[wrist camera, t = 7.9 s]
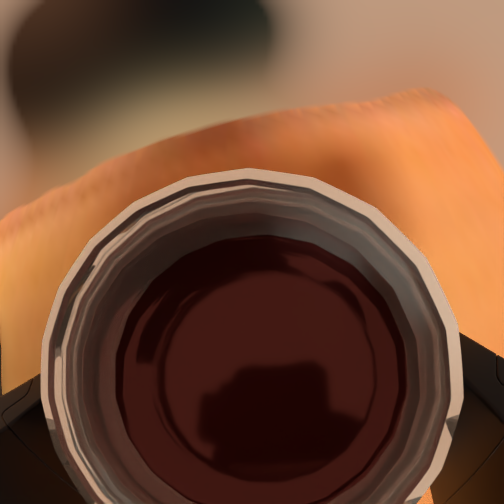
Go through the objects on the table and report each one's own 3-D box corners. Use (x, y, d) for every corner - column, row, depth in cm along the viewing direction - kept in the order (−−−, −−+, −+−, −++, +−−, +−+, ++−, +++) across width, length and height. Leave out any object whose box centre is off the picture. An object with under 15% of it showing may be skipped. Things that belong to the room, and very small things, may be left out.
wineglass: (340, 441, 13) (409, 583, 2) (210, 426, 14) (34, 495, 3) (354, 314, 15) (451, 178, 4) (227, 304, 16) (88, 175, 5)
